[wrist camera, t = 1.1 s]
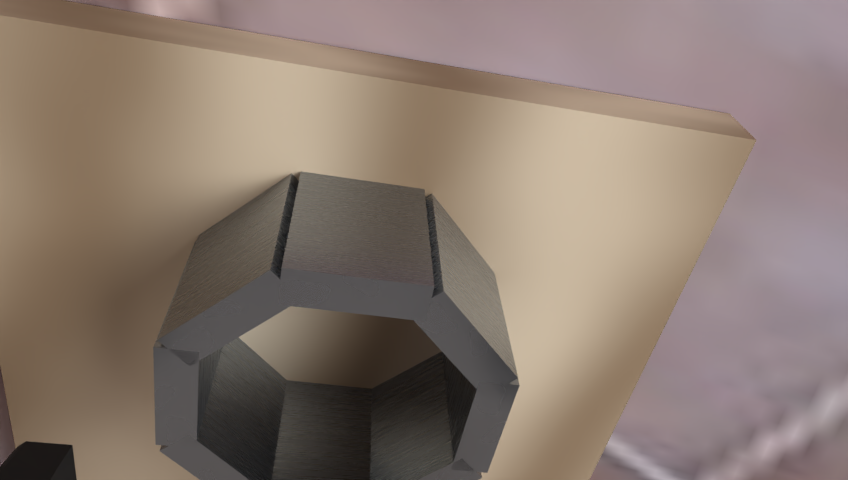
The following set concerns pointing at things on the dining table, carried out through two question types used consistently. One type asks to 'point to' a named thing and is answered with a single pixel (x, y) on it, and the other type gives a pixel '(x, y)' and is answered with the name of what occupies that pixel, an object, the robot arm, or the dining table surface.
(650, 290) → the board
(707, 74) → the dining table surface
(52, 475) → the robot arm
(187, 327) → the ring hub
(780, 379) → the dining table surface
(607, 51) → the dining table surface
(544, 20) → the dining table surface
